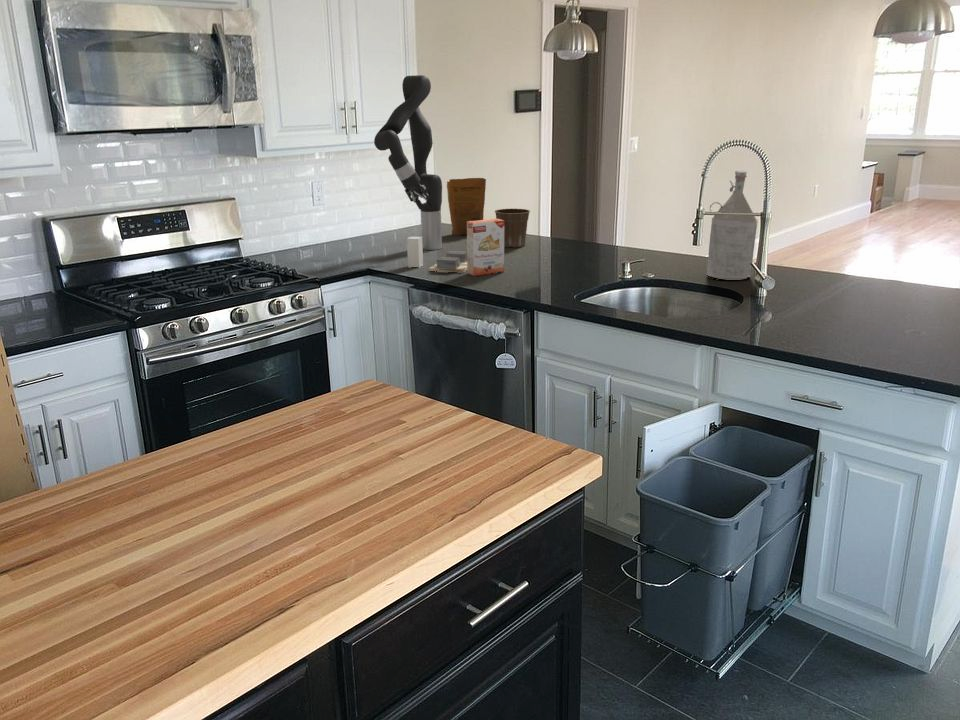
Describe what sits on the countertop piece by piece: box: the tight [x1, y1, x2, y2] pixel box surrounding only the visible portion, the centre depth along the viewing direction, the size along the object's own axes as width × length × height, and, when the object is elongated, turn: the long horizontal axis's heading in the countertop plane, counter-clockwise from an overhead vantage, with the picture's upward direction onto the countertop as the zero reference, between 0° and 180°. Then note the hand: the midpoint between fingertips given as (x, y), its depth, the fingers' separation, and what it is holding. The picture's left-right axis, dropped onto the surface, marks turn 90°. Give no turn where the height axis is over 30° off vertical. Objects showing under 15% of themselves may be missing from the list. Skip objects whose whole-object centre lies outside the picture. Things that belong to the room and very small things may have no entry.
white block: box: [406, 236, 424, 269], centre depth 320 cm, size 4×5×12 cm
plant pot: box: [494, 208, 531, 249], centre depth 358 cm, size 16×16×16 cm
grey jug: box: [706, 169, 758, 278], centre depth 288 cm, size 13×17×40 cm
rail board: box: [429, 250, 467, 274], centre depth 318 cm, size 18×14×5 cm
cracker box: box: [466, 218, 505, 277], centre depth 305 cm, size 14×6×21 cm, turn 117°
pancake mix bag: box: [446, 177, 487, 236], centre depth 384 cm, size 7×19×28 cm, turn 85°
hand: (427, 207), depth 332 cm, fingers open, 8 cm apart
